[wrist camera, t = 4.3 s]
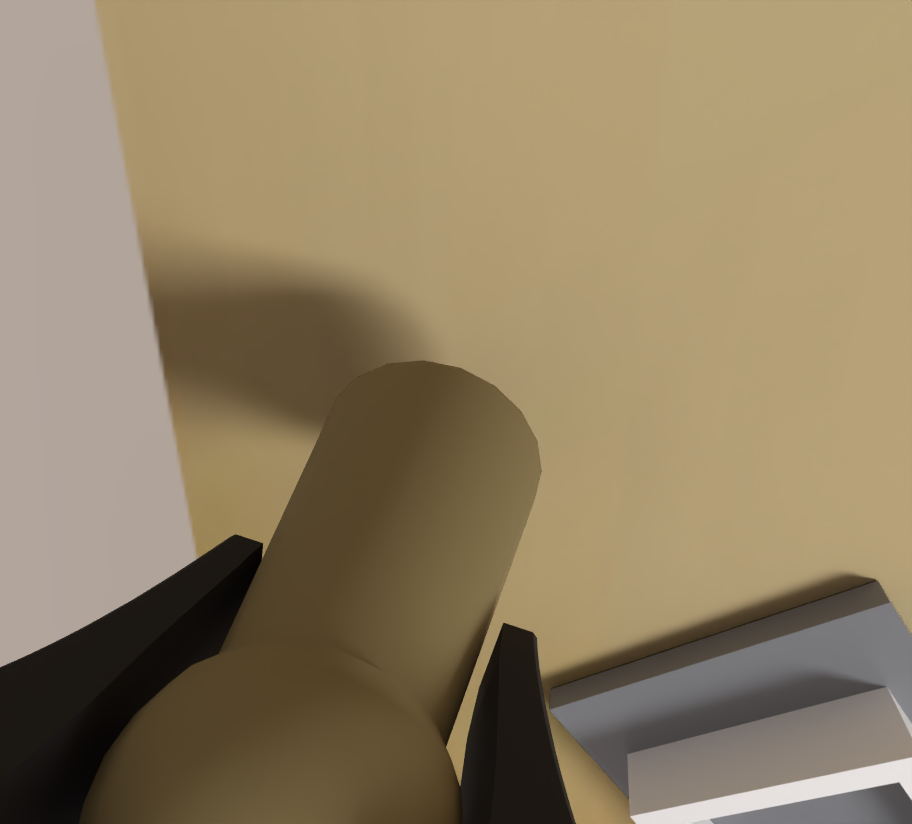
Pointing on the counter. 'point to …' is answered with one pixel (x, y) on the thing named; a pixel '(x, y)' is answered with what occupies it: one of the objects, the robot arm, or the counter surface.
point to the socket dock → (761, 720)
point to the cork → (347, 624)
